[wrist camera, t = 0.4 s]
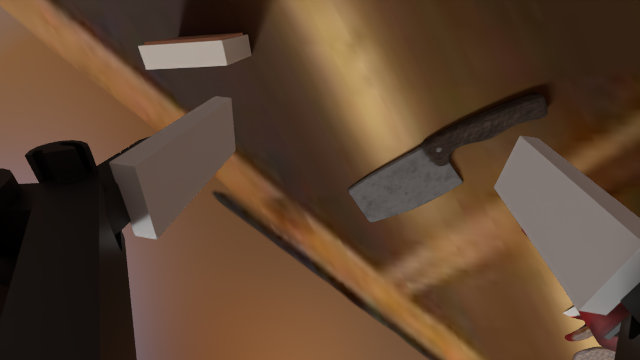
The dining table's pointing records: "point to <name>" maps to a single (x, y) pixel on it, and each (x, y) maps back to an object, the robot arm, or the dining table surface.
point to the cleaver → (436, 161)
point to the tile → (195, 51)
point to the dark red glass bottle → (603, 323)
